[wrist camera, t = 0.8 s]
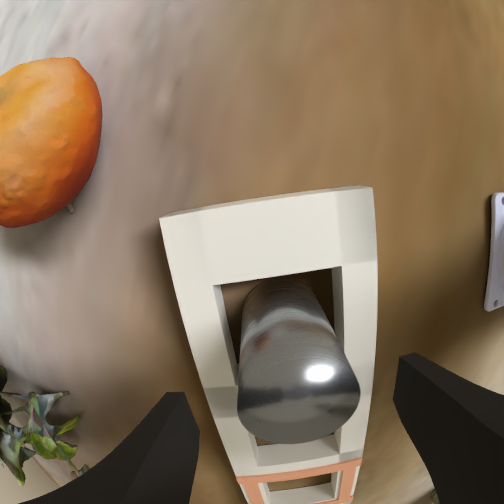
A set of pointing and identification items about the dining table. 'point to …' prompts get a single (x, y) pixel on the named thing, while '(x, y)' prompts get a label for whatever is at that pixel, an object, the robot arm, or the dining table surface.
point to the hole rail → (270, 265)
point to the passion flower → (33, 432)
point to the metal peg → (291, 366)
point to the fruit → (46, 138)
